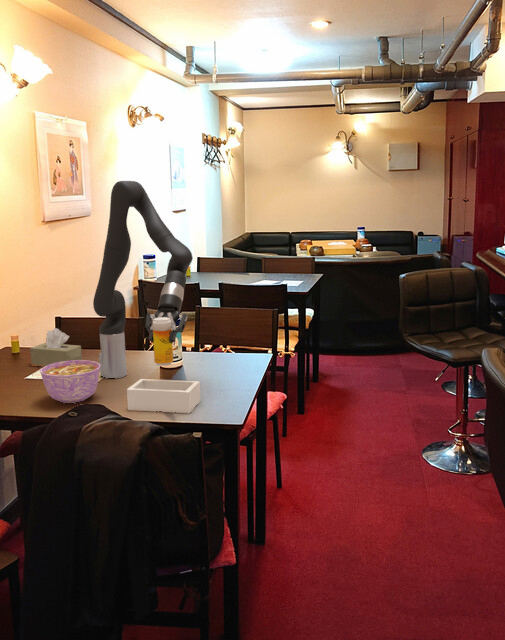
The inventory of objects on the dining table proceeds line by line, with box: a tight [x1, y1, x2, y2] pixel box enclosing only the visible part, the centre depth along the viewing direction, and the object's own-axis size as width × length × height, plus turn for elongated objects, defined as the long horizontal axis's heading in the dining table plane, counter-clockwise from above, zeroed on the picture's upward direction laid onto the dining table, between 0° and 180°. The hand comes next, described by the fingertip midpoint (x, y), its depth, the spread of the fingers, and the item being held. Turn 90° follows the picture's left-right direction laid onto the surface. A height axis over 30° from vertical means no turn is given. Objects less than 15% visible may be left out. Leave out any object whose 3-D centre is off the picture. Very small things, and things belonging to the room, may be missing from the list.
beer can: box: [152, 317, 174, 367], centre depth 208 cm, size 6×6×15 cm
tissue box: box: [29, 327, 83, 366], centre depth 264 cm, size 19×10×16 cm, turn 68°
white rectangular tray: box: [126, 378, 201, 414], centre depth 211 cm, size 21×12×7 cm, turn 78°
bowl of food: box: [39, 359, 101, 404], centre depth 218 cm, size 20×20×12 cm
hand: (161, 341), depth 206 cm, fingers closed on beer can, 6 cm apart
